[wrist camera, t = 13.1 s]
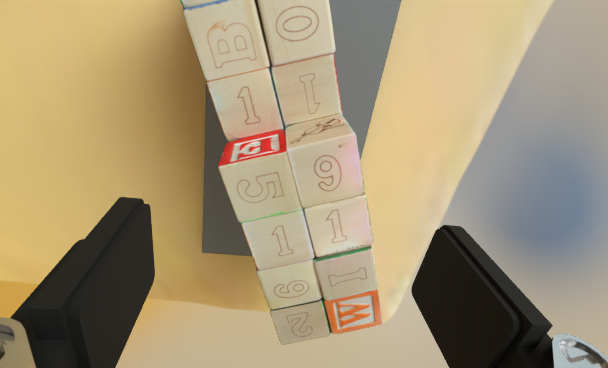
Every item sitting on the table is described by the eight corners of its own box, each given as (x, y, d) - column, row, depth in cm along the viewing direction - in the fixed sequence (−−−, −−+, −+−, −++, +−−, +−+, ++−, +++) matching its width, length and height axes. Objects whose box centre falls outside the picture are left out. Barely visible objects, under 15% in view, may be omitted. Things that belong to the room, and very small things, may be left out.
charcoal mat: (213, -109, 19) (211, -113, 18) (414, -62, 21) (417, -65, 20) (203, 248, 30) (202, 252, 30) (333, 258, 32) (334, 262, 32)
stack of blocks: (202, -40, 20) (110, -123, 9) (298, -62, 20) (325, -174, 9) (279, 230, 30) (280, 350, 19) (344, 217, 29) (384, 329, 18)
